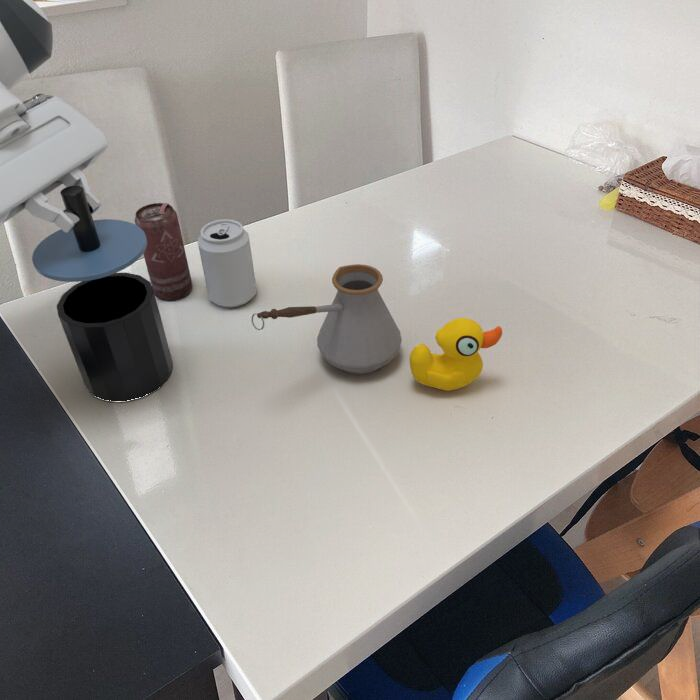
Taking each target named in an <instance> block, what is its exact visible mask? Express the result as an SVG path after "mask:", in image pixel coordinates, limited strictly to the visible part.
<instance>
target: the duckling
mask: <svg viewBox="0 0 700 700" xmlns="http://www.w3.org/2000/svg"><path fill="white" fill-rule="evenodd" d="M502 336H503V328H502V326H500V325H497V326H496V327H495V328H493V329H491V330H487V331H483V329H482V327H481V325H480V323H479V322H477V321H475V320H473V319H471V318H467V317H458V318H454V319H452V320H450V321H448V322H447V323H445V325H443V326H442V327H440V328H439V329H438V330H437V331H436V332H435V336H434V337H435V341H436V344H437V345H438V346H439V347H440V349H441V350H442V351H443V353H432V352H431V349H430V348H429V346H428V345H427V344H425V343H419V344H417V345H415V346H414V347H413V348H412V349H411V351H410V354H409V368H410V372H411V375H412V377H413V378H414V379H415V380H416V381H417V383H419V384H421V385H424V386H427V387H431V388H435V389H439V390H442V391H455V390H458V389H461V388H464V387H466V386H468V385H470V384H471V383H473V382H474V381H475V380H477V379H478V378H479V377H480V375H481V373H482V371H483V369H484V368H483V367H484V362H483V359H482V357H481V355H480V353H479V351H480V350H481V349H489V348H491V347H493V346H495V345H497V344H498V342H500V339H501V338H502Z"/></svg>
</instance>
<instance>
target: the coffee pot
mask: <svg viewBox="0 0 700 700" xmlns="http://www.w3.org/2000/svg"><path fill="white" fill-rule="evenodd" d="M383 281H384V278H383V274H382V273H381V271H380V270H379V269H377V268H376V267H373V266H371V265H367V264H362V263H361V264H360V263H359V264H358V263H357V264H348V265H342V266H339V267H338V268H337V269H336V270H335V271H334V273H333V275H332V278H331V283H332V285H333V287H334V288H335V289H336V290H337V292H336V294H335V296H334V299H333V301H332V303H331V304H326V305H319V306H318V305H317V306H313V305H312V306H310V305H309V306H287V307H285V308H281V309H276V308H272V309H270V311H267V310H264V311H260V312H258V313H253V314H252V315H251V325H252V326H253V328H254V329H255V330H258V331H261V330H263V329H264V328H265V319H269V318H271V319H272V320H277V319H278V318H288V319H291V318H296V317H303V316H307V315H313V314H317V313H327V314H326V316H325V318H324V320H323V323H322V325H321V327H320V329H319V330H318V331H319V332H318V334H317V338H316V343H317V344H316V347H317V348H318V350H319V352H320V354H321V356H322V357H323V359H325V361H327V362H328V364H330V365H332V366H333V367H335V368H336V369H339V370H342V371H344V372H347V373H351V374H357V375H358V374H367V373H373V372H374V371H376V370H379V369H380V368H383V367H384V366H386V365H387V364H389V363H390V362H391V361H392V360H393V359H394V358H395V357H396V355H397V354H398V352H399V351H400V349H401V346H402V341H403V340H402V339H403V338H402V334H401V331H400V329H399V327H398V325H397V324H396V323H397V322H396V321H395V319H394V318H393V315H392V314H391V311H390V310H389V308H388V307H387V305H386V302H385V300H384V299H383V297H382V295H381V293H380V291H379V288H380V287H381V286H382V284H383ZM255 316H257V319H260V320H261V321H262V325H261V328H258V327H257V326H256V325H255V322H254V317H255Z"/></svg>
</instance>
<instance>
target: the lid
mask: <svg viewBox="0 0 700 700" xmlns="http://www.w3.org/2000/svg"><path fill="white" fill-rule="evenodd" d="M59 194H60V196H61V200H62V202H63V206H64V208H65V209H67V208H69V209H70V210H72V211H73V213H74V214H75V215H77V216H78V217H79V219H80V221H79V223H78V224H77V226H76V227H74V228H73V229H72V230H70V231H69V232H68V233H66V232H64V231H63V230H62V229H61V228H60V229H58V230H57V231H55V232H53V233H51V234H49V235H48V236H46V237H45V238H43V239H42V241H40V242H39V243H38V244H37V245H36V247H35V248H34V250H33V253H32V256H31V261H32V264H33V266H34V269H35V271H36V272H37V273H38V274H39V275H41V276H43V277H44V278H47V279H49V280H53V281H57V282H63V283H64V282H65V283H80V282H82V281H89V280H94V279H99V278H103V277H106V276H109V275H112V274H115V273H120V272H121V271H123V270H126V269H127V268H129V267H130V266H132V265H133V264H134V263H136V262H137V261H138V260H139V259H140V258H141V257H142V256H143V253H144V251H145V250H146V247H147V239H146V235H145V233H144V231H143V230H142V229H141V228H140V227H138V226H137V225H136V224H135V223H133V222H130V221H127V220H121V219H113V218H111V219H110V218H109V219H107V218H106V219H105V218H104V219H103V218H102V219H94V218H93V214H92V215H91V211H90V208H89V205H88V202H87V198H86V195H85V192H84V189H83V187H81V186H69V187H66V186H65V187H64V188H62V189H61V190H60V193H59ZM65 209H64V210H65Z"/></svg>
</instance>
